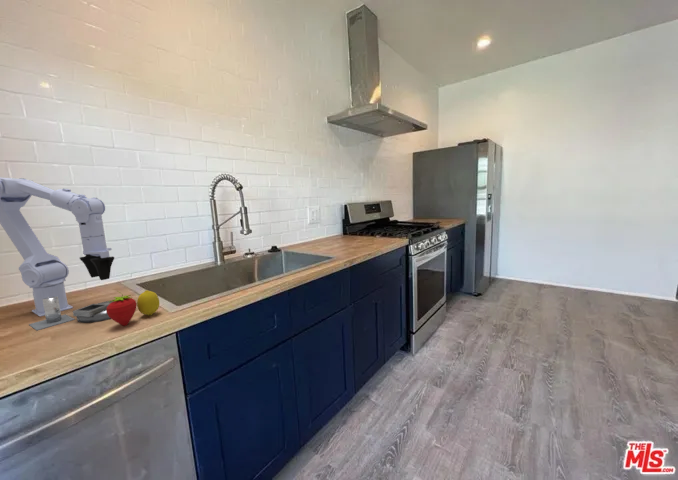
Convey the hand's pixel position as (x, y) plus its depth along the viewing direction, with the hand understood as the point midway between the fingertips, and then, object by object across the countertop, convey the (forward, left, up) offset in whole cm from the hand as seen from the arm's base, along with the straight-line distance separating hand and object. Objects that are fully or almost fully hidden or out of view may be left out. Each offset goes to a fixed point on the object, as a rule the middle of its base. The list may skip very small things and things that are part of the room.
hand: (100, 278), depth 92 cm
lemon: (+21, +4, -11) cm, 24 cm away
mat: (-1, -12, -10) cm, 16 cm away
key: (-1, -12, -10) cm, 16 cm away
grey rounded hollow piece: (+6, -2, -10) cm, 12 cm away
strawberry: (+22, -3, -11) cm, 25 cm away
